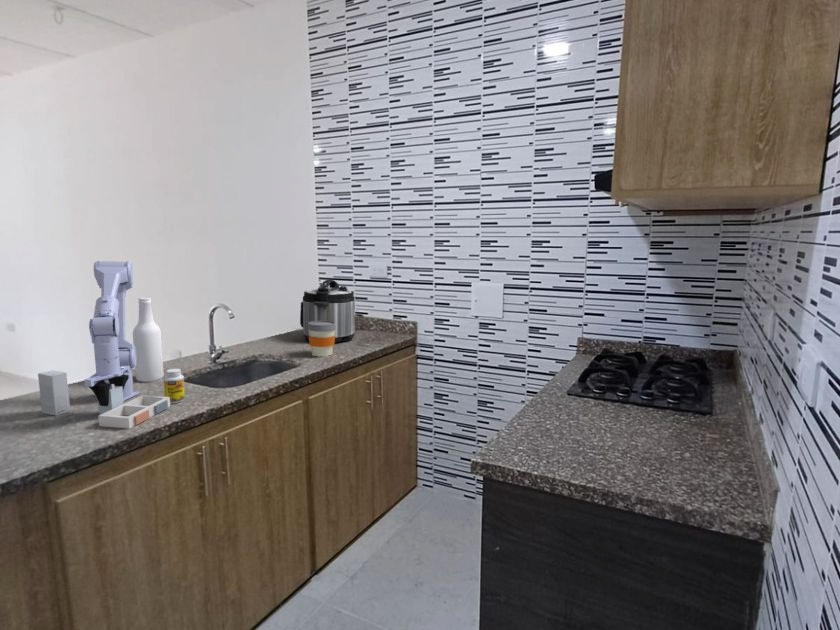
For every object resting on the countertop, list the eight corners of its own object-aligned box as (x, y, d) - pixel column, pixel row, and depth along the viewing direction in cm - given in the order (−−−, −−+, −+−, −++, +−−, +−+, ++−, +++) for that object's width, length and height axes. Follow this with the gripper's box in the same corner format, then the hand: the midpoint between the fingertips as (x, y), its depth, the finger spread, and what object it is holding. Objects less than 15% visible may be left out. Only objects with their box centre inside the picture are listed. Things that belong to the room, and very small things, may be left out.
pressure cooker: (332, 331, 261) (332, 276, 255) (367, 338, 243) (368, 280, 238) (288, 338, 237) (287, 278, 232) (323, 347, 220) (323, 283, 215)
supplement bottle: (166, 405, 140) (164, 373, 138) (164, 399, 145) (162, 369, 143) (186, 402, 143) (184, 371, 141) (183, 397, 148) (182, 366, 146)
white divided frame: (99, 426, 123) (98, 415, 123) (143, 404, 140) (142, 395, 140) (131, 428, 122) (130, 418, 122) (172, 406, 139) (171, 397, 139)
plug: (98, 413, 130) (96, 386, 129) (110, 407, 135) (108, 381, 133) (112, 414, 130) (110, 387, 128) (124, 408, 134) (122, 382, 133)
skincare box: (71, 411, 133) (67, 372, 131) (55, 416, 129) (51, 376, 127) (57, 408, 135) (53, 369, 133) (41, 413, 131) (36, 373, 129)
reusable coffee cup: (327, 359, 199) (327, 326, 197) (302, 356, 203) (302, 323, 200) (340, 353, 211) (340, 321, 208) (317, 350, 215) (317, 319, 212)
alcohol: (133, 383, 159) (126, 299, 154) (139, 376, 168) (133, 296, 163) (161, 381, 162) (155, 299, 157) (166, 374, 170) (161, 296, 166)
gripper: (99, 365, 122) (103, 412, 124) (138, 352, 136) (141, 395, 138) (75, 363, 123) (80, 410, 125) (116, 350, 137) (120, 393, 139)
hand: (110, 402), depth 132 cm, fingers closed on plug, 4 cm apart
